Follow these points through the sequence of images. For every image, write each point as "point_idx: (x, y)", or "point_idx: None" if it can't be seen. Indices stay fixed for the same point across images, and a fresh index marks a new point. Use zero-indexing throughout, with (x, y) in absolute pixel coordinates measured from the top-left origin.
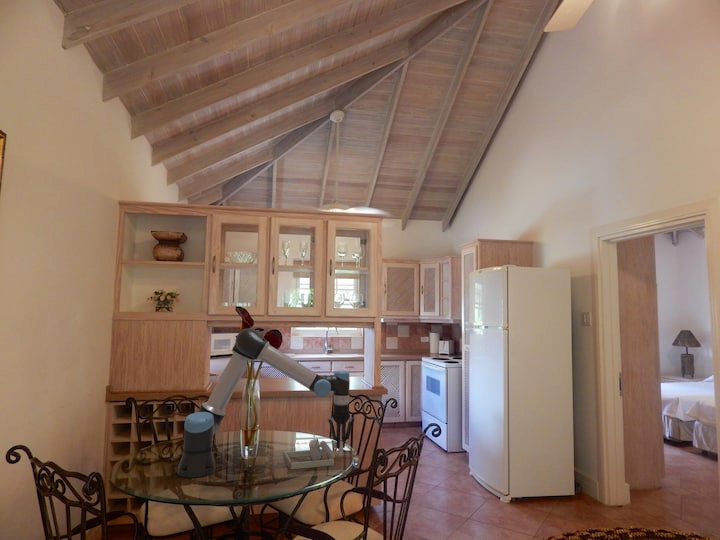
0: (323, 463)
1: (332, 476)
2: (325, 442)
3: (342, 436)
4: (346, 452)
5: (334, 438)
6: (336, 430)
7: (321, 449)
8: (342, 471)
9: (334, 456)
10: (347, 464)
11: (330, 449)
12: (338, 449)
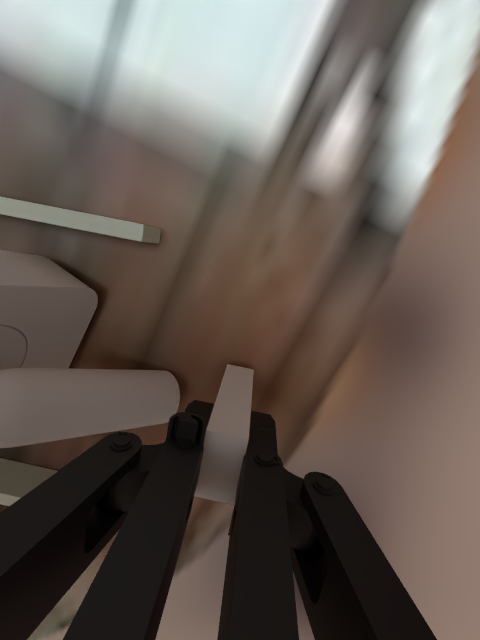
0: None
1: (58, 628)
2: (12, 441)
3: (232, 535)
4: (358, 268)
5: (98, 515)
6: (104, 559)
7: (103, 233)
8: None
9: (163, 423)
10: (217, 518)
11: (110, 428)
12: (221, 384)
